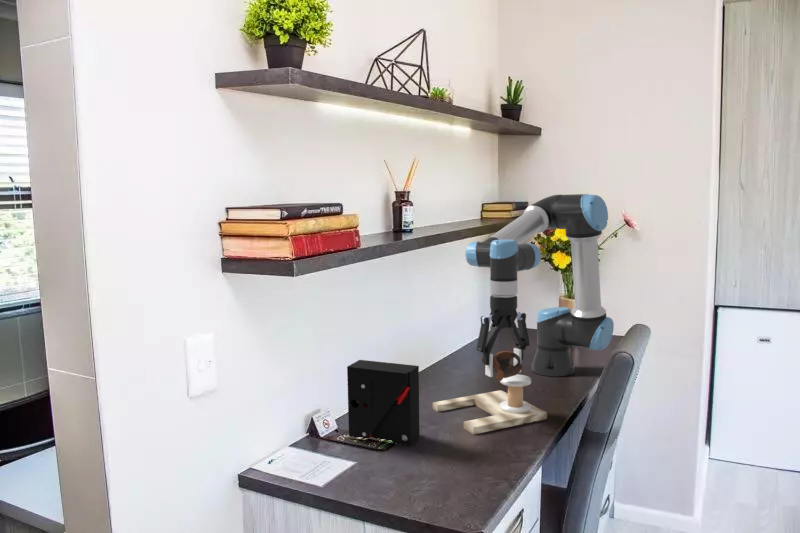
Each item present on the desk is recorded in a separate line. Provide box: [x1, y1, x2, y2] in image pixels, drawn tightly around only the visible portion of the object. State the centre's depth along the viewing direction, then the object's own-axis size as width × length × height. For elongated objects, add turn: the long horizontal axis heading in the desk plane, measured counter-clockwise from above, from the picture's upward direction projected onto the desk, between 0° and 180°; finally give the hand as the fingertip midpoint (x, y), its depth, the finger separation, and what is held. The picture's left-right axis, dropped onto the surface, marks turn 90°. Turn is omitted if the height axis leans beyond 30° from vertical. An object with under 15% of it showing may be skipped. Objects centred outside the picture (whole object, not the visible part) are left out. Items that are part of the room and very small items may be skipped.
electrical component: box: [346, 359, 420, 447], centre depth 169 cm, size 18×10×20 cm, turn 66°
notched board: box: [432, 389, 548, 435], centre depth 187 cm, size 25×23×2 cm
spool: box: [499, 373, 532, 414], centre depth 185 cm, size 9×9×9 cm
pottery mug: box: [481, 350, 524, 382], centre depth 178 cm, size 12×10×8 cm
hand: (503, 373), depth 179 cm, fingers closed on pottery mug, 9 cm apart
